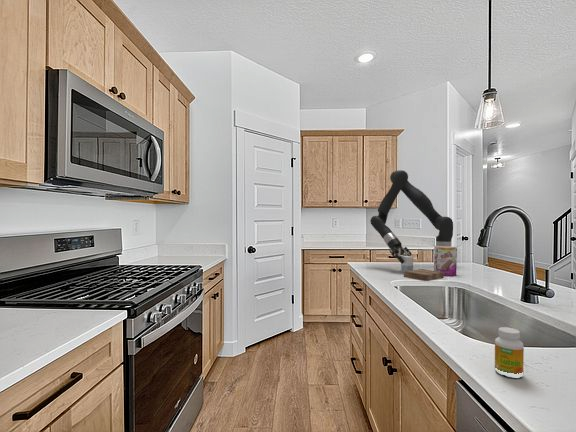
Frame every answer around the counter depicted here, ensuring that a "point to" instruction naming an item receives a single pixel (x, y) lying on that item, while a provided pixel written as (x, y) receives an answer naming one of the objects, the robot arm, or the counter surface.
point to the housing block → (407, 264)
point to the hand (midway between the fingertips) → (407, 262)
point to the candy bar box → (445, 260)
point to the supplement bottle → (509, 351)
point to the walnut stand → (423, 274)
